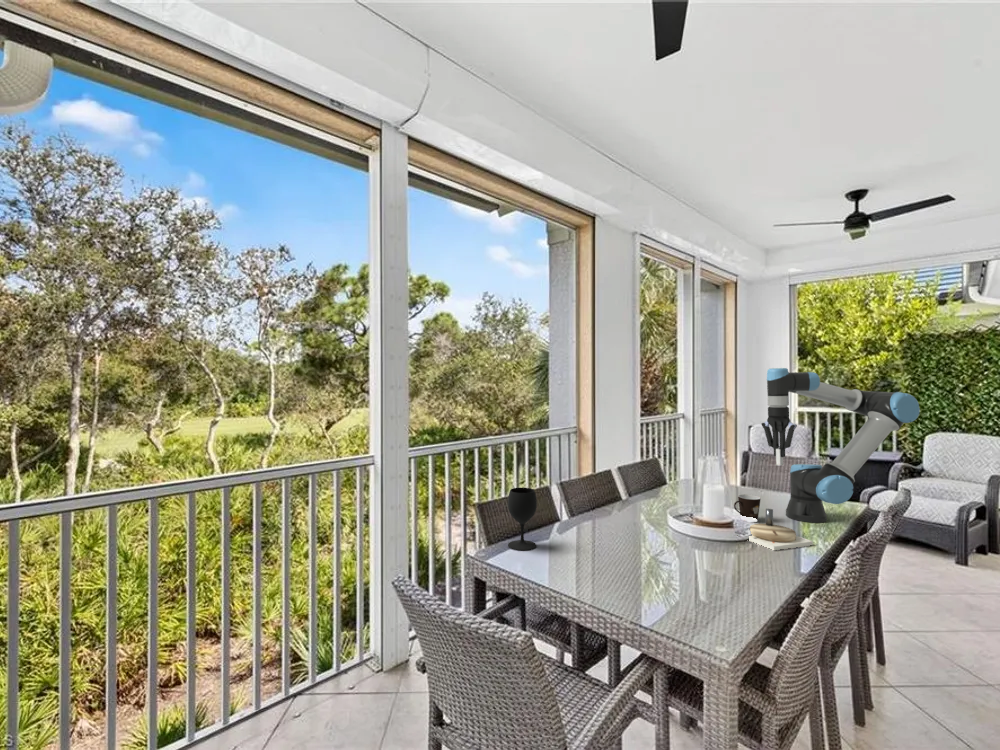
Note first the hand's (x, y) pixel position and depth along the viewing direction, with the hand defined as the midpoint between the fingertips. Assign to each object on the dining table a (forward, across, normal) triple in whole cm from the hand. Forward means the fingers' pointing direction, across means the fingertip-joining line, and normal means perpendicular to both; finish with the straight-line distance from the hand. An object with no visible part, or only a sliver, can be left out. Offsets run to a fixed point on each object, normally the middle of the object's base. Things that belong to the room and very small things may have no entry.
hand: (779, 464), depth 201 cm
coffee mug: (+25, +14, +2) cm, 29 cm away
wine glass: (+22, +46, +98) cm, 110 cm away
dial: (+23, -5, +19) cm, 30 cm away
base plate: (+25, -5, +19) cm, 32 cm away
